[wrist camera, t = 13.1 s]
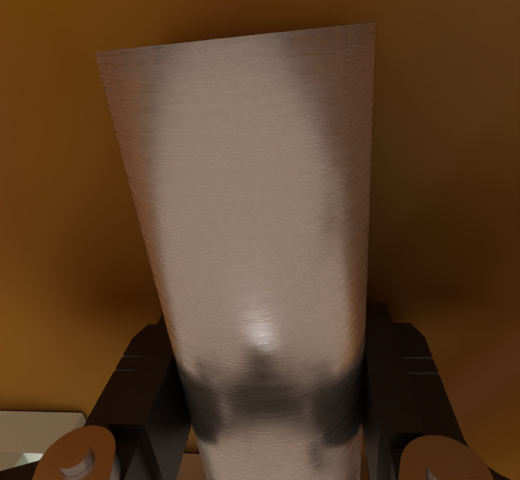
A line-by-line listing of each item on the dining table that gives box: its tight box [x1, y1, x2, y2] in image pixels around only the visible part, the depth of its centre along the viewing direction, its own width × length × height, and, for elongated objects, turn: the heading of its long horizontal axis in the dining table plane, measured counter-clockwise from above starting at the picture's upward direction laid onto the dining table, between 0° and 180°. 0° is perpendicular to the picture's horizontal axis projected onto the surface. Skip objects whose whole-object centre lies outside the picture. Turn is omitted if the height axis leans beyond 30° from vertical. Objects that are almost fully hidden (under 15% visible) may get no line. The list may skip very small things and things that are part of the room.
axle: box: [95, 22, 376, 480], centre depth 10 cm, size 16×4×4 cm, turn 5°
